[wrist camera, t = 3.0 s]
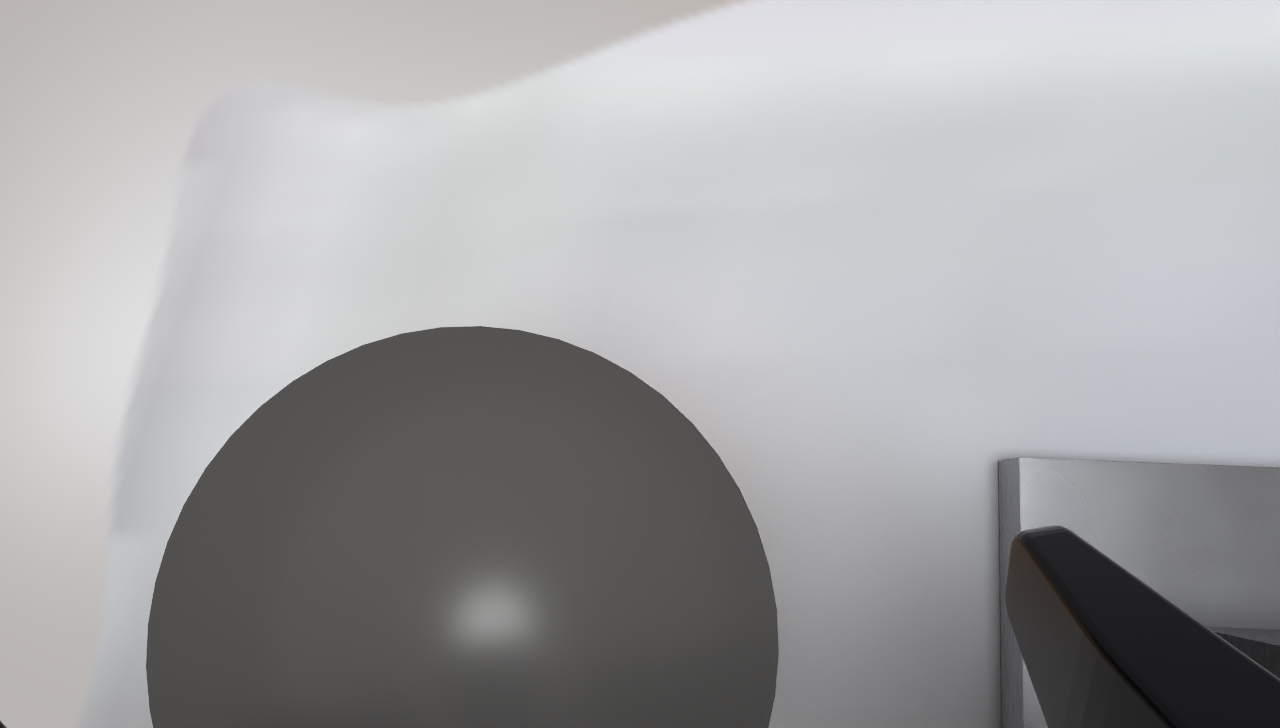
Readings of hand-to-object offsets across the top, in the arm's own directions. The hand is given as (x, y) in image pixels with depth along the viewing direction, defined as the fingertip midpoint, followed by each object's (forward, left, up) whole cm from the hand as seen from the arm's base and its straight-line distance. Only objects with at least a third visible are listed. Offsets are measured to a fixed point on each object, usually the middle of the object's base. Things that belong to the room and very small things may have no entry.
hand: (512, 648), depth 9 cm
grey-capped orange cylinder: (0, 0, -8) cm, 8 cm away
